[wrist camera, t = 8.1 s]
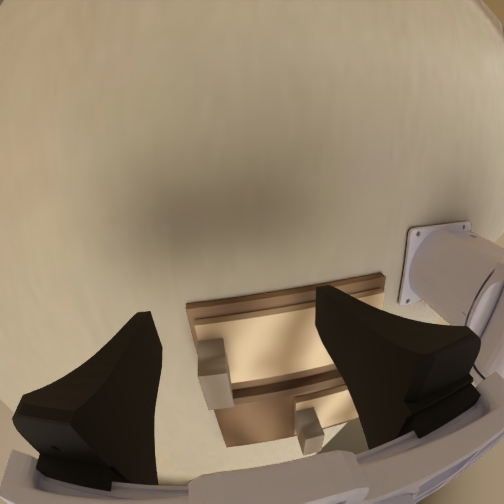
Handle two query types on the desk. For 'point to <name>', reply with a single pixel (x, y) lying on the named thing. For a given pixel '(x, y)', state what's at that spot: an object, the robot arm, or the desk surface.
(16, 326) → the desk surface
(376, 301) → the empty strip
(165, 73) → the desk surface
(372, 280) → the lane board
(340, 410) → the strip
